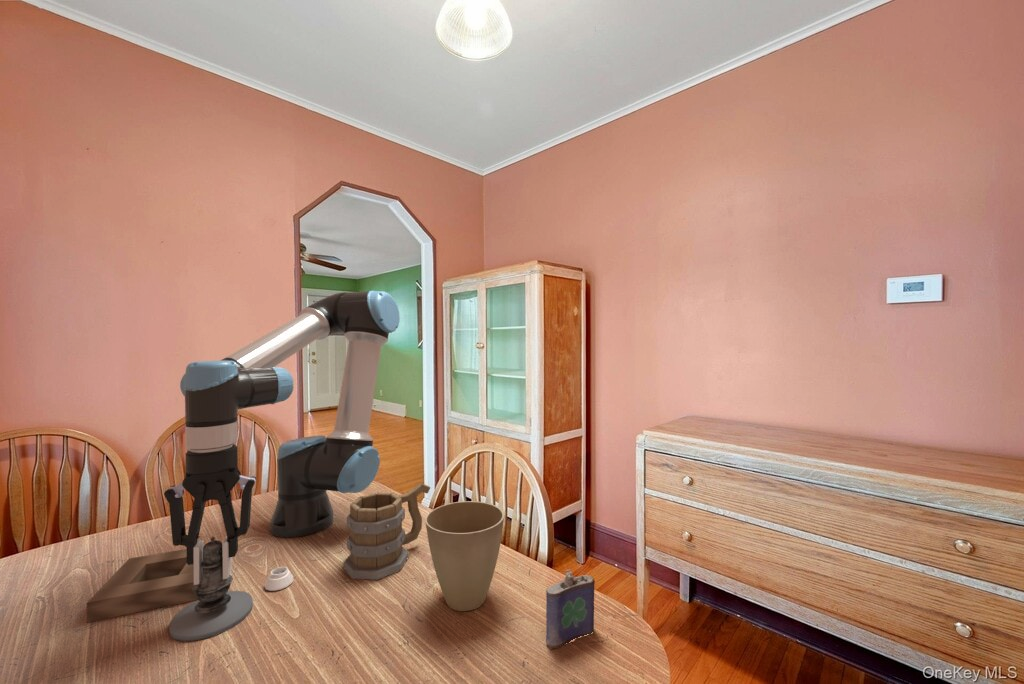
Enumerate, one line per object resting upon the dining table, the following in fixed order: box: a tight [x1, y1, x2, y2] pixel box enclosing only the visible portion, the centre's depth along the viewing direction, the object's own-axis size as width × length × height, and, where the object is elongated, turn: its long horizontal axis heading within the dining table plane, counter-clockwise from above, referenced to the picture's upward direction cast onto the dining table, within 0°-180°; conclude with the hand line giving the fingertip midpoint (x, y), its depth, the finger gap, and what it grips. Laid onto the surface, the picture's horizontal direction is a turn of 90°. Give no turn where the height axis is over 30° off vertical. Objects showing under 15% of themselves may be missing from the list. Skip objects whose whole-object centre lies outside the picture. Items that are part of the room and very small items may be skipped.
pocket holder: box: [86, 545, 205, 623], centre depth 83 cm, size 16×16×4 cm
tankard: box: [342, 482, 431, 581], centre depth 93 cm, size 20×13×15 cm, turn 131°
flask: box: [545, 569, 596, 650], centre depth 68 cm, size 9×3×11 cm, turn 117°
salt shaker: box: [192, 536, 234, 613], centre depth 73 cm, size 6×6×12 cm
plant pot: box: [424, 500, 505, 612], centre depth 78 cm, size 15×15×16 cm
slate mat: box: [168, 590, 254, 642], centre depth 73 cm, size 12×12×1 cm
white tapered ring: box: [264, 566, 294, 592], centre depth 83 cm, size 5×3×5 cm
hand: (213, 577), depth 73 cm, fingers closed on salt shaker, 3 cm apart
